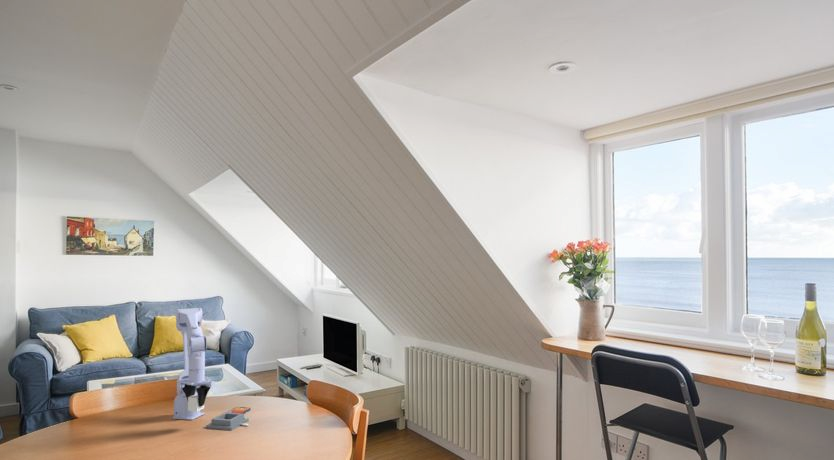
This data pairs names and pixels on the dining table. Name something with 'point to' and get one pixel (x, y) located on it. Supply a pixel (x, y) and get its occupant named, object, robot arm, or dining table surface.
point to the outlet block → (228, 421)
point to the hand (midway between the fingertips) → (196, 405)
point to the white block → (194, 403)
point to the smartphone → (239, 410)
